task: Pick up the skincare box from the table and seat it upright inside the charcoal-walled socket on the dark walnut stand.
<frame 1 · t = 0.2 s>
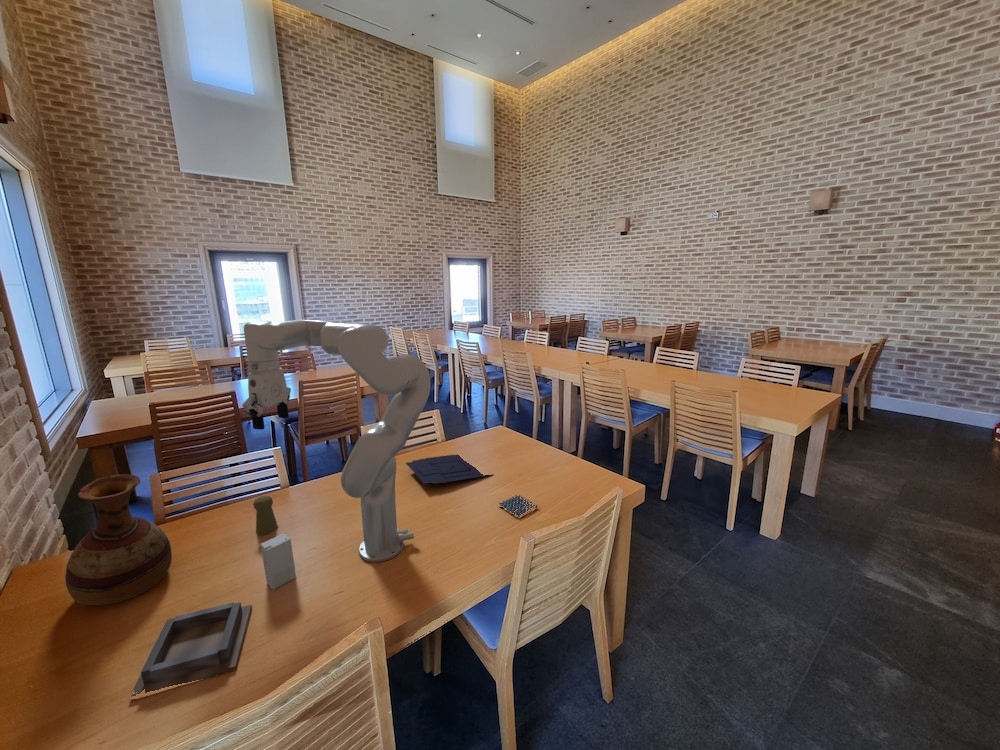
hand: (271, 423, 116), 37 cm above the table, fingers open, 9 cm apart
skincare box: (281, 581, 105), on the table
cork: (267, 529, 127), on the table
navy folded cloth: (448, 473, 166), on the table
woven mat: (518, 509, 140), on the table
socket stand: (198, 648, 86), on the table
painted clay vase: (127, 585, 103), on the table
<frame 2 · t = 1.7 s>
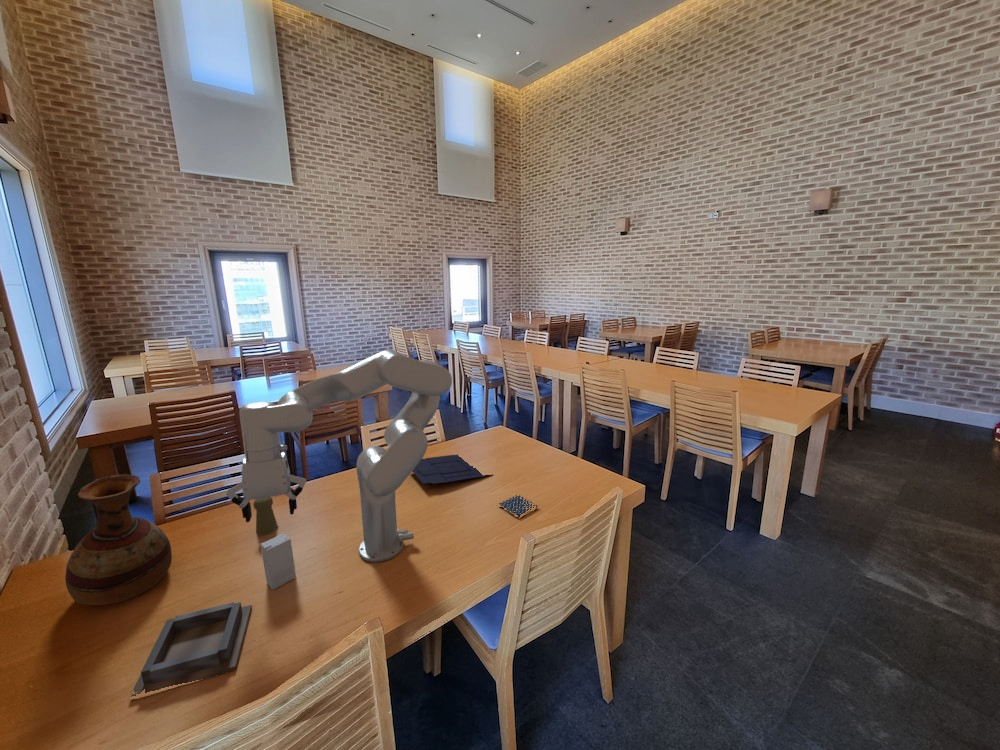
hand: (271, 515, 101), 19 cm above the table, fingers open, 9 cm apart
nothing on the table moved.
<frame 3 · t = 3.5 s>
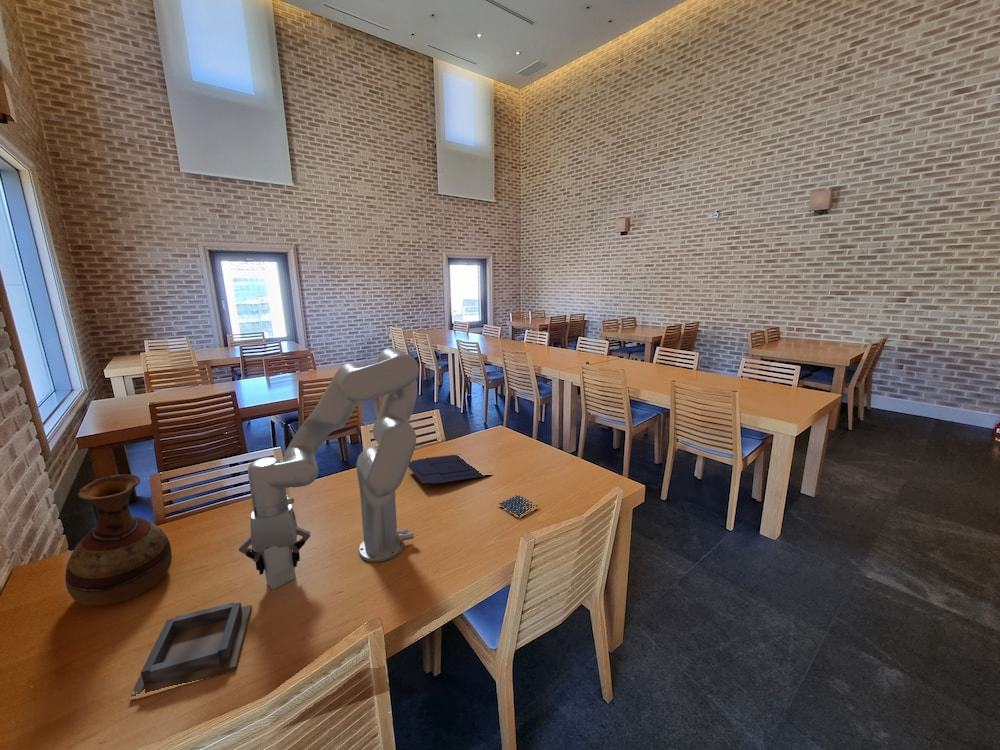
hand: (279, 566, 104), 4 cm above the table, fingers closed on skincare box, 7 cm apart
skincare box: (281, 581, 105), on the table, touching gripper
everything else where it was.
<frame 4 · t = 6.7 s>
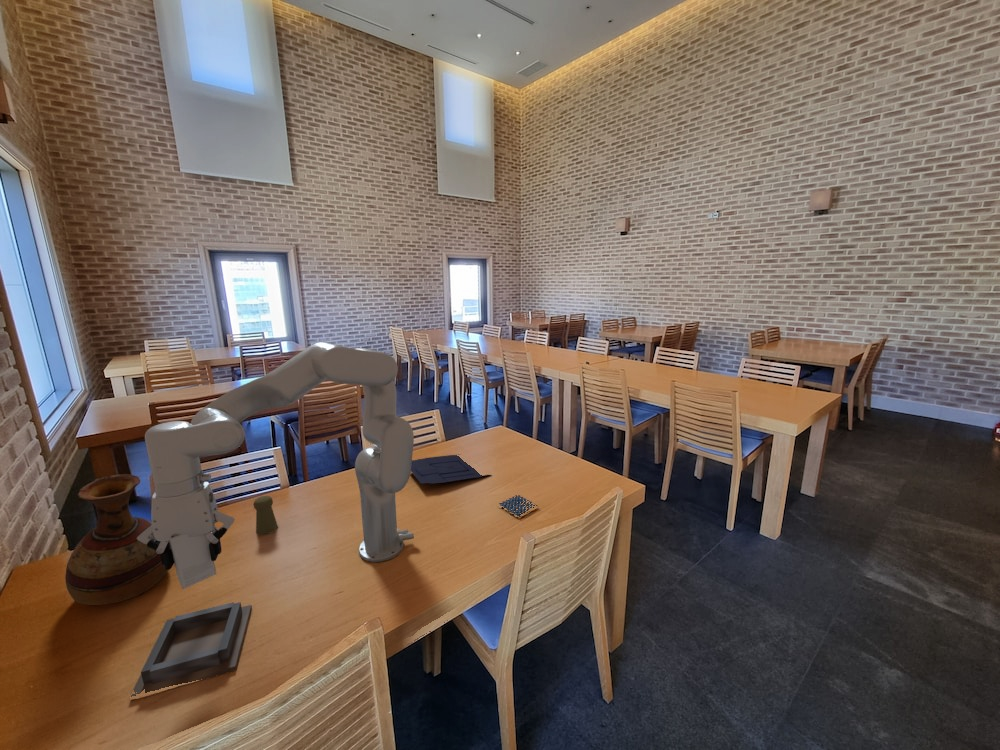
hand: (193, 560, 83), 20 cm above the table, fingers closed on skincare box, 7 cm apart
skincare box: (197, 579, 84), point 16 cm above the table, touching gripper
everything else where it was.
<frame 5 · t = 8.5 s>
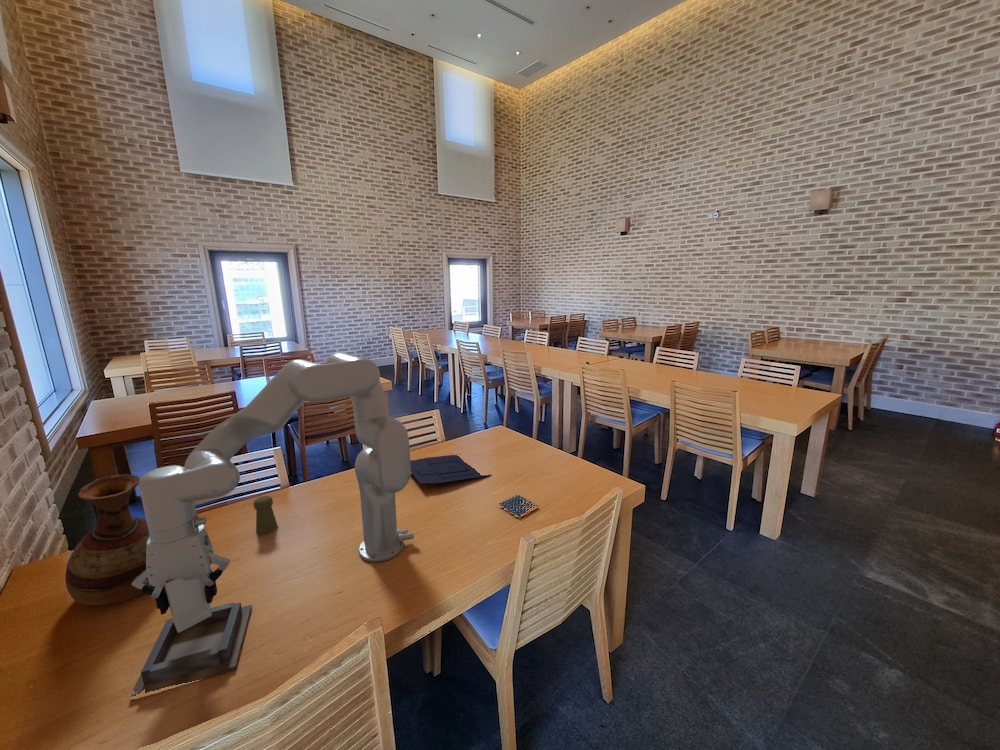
hand: (188, 603, 83), 12 cm above the table, fingers closed on skincare box, 7 cm apart
skincare box: (192, 621, 84), point 7 cm above the table, touching gripper
everything else where it was.
when the fingers open (6 cm above the table, at t = 10.1 s): skincare box stays where it is, resting on socket stand.
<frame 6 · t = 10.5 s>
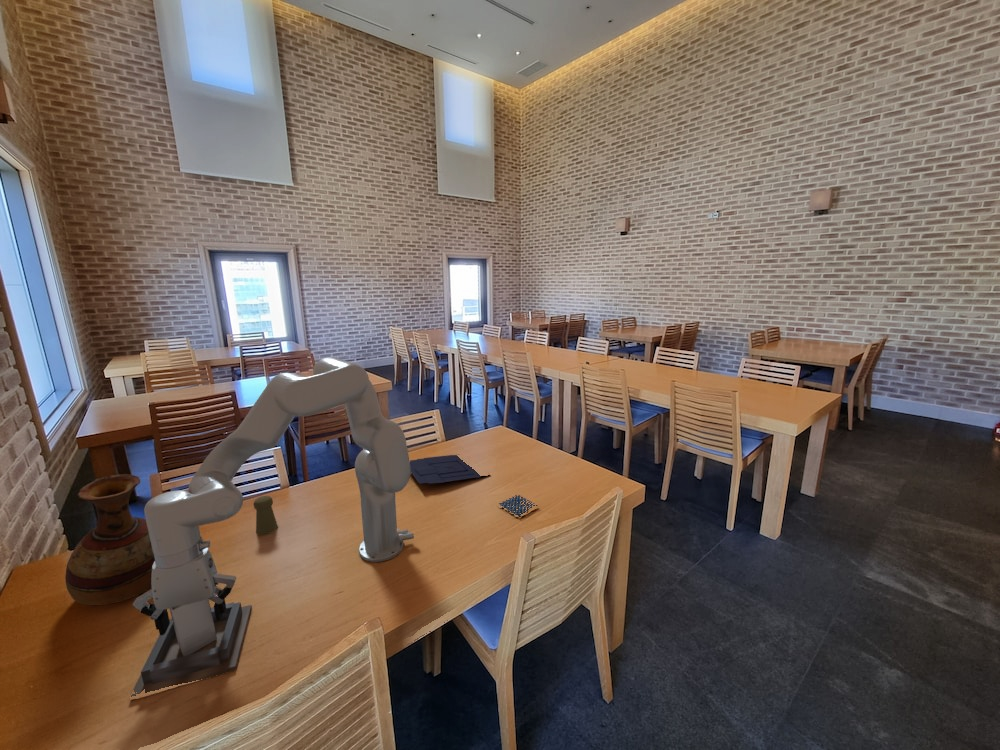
hand: (193, 622, 84), 7 cm above the table, fingers open, 9 cm apart
skincare box: (198, 645, 86), point 1 cm above the table, touching socket stand
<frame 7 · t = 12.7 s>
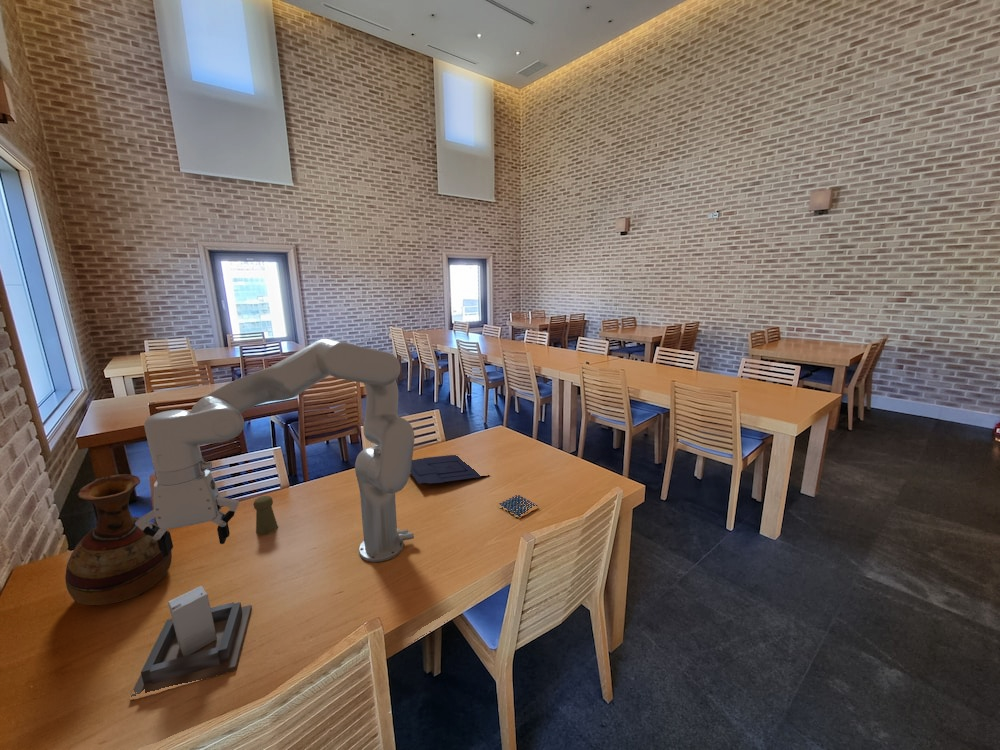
hand: (196, 546, 84), 23 cm above the table, fingers open, 9 cm apart
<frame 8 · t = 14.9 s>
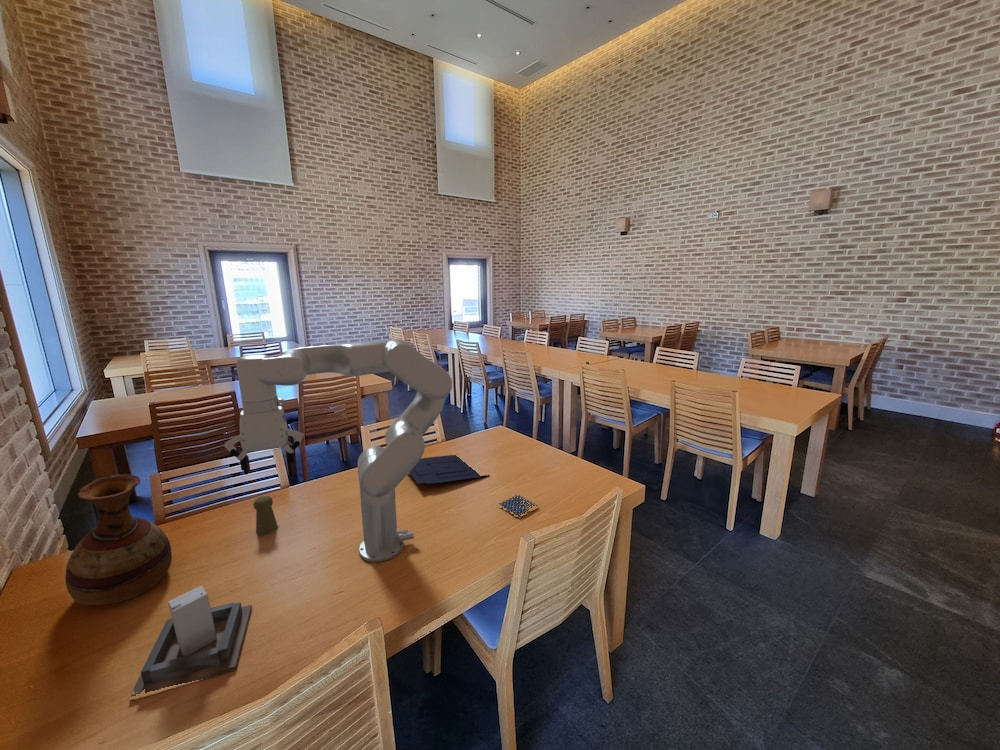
hand: (269, 469, 102), 30 cm above the table, fingers open, 9 cm apart
at the end: skincare box 0.2 cm off-centre on the socket stand, point 0.8 cm above the socket stand's base; skincare box tilted 0°; the gripper is holding nothing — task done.
